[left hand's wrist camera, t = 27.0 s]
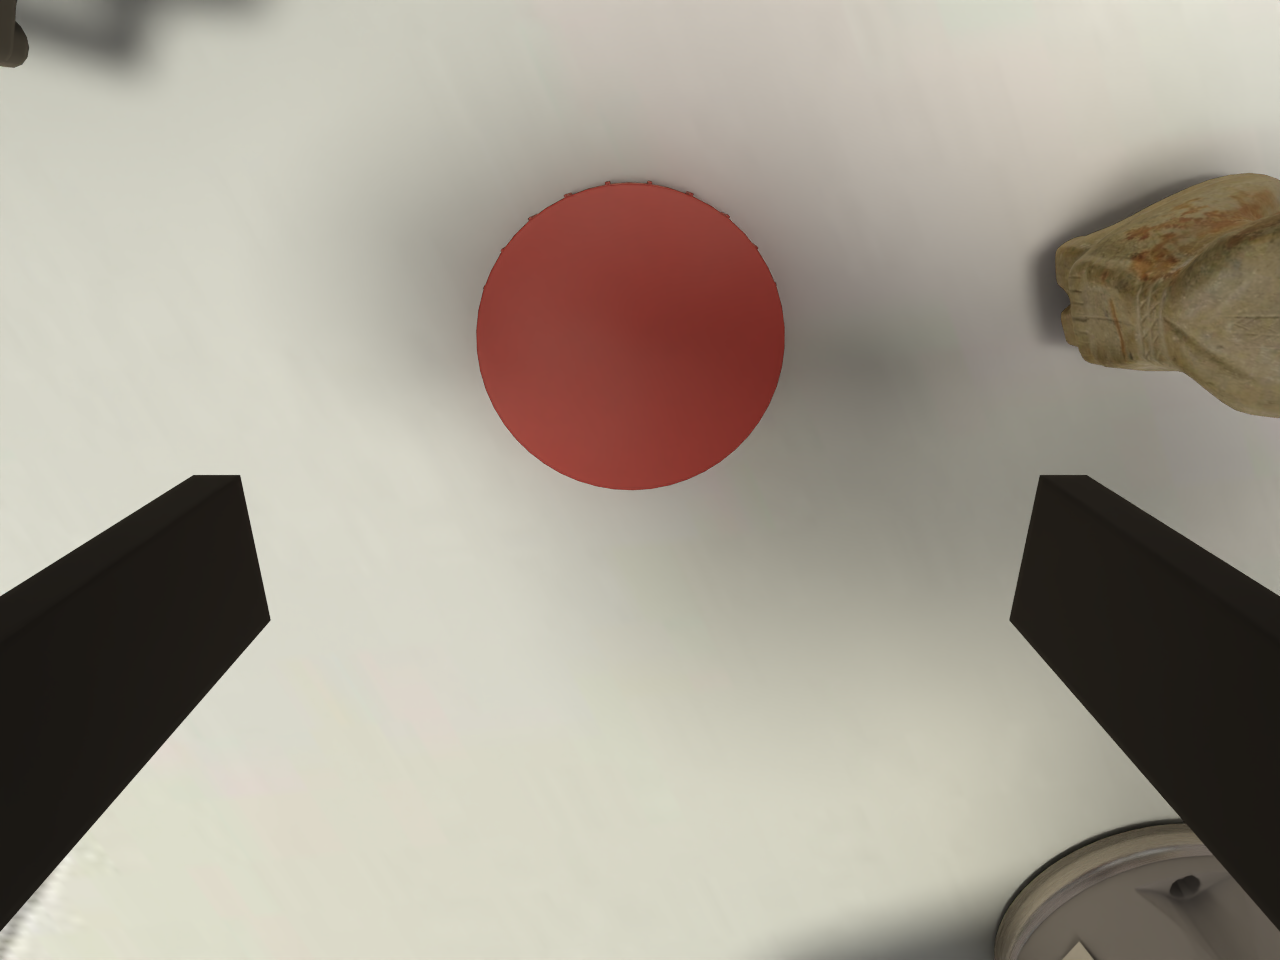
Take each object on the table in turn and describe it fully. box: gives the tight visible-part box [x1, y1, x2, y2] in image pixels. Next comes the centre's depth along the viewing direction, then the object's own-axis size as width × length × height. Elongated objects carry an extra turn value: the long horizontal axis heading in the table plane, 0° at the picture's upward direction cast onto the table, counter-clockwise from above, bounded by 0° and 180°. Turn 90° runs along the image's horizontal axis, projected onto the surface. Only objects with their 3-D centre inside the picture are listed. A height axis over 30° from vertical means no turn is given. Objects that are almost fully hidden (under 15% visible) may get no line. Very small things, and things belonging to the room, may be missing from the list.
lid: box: [476, 181, 785, 490], centre depth 25 cm, size 10×10×2 cm
